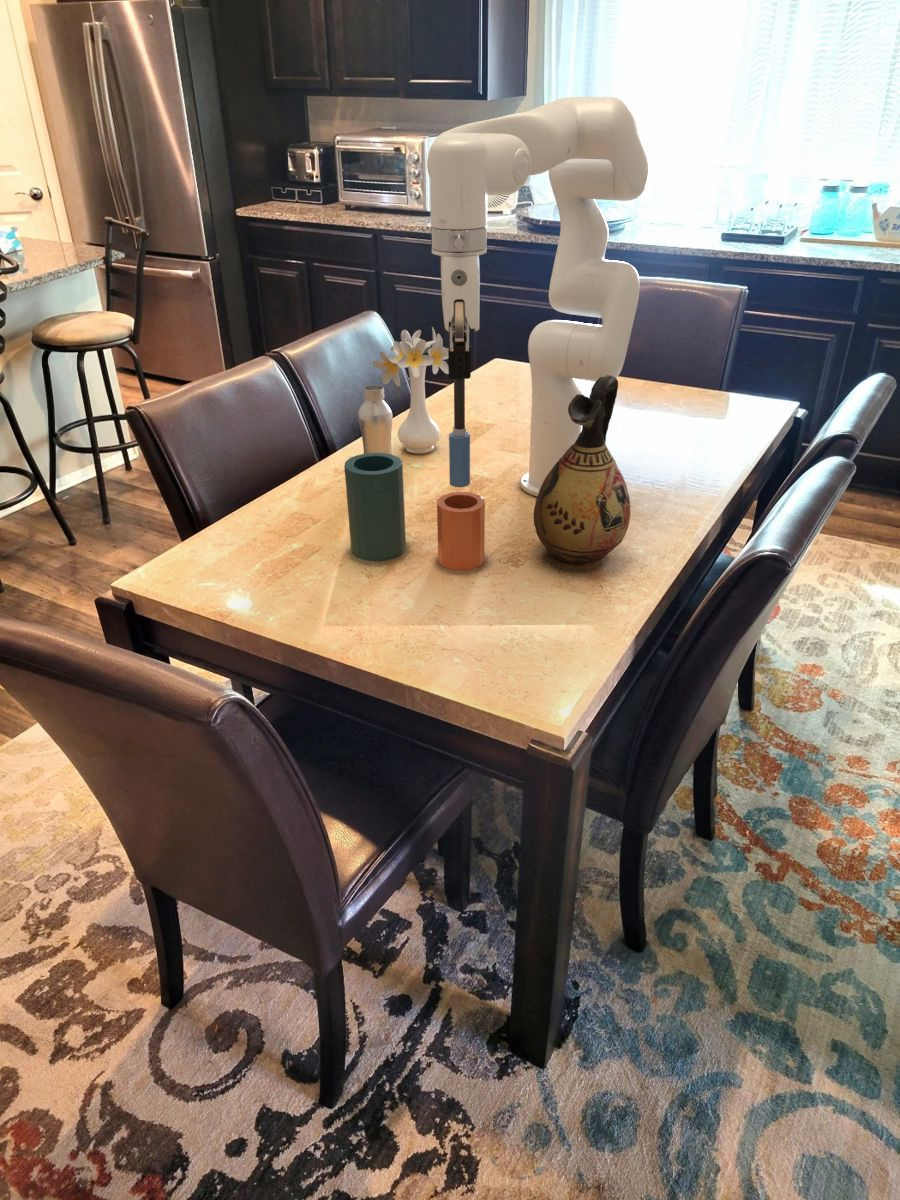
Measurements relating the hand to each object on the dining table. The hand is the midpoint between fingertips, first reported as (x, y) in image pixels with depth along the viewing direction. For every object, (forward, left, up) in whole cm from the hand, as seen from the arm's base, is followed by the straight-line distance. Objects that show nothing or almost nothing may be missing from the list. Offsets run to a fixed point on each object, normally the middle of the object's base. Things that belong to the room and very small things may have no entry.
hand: (459, 375), depth 125 cm
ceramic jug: (-20, -2, -32) cm, 37 cm away
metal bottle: (+16, -31, -32) cm, 47 cm away
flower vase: (+9, -51, -32) cm, 61 cm away
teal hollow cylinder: (+14, -4, -31) cm, 35 cm away
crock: (0, 0, -31) cm, 31 cm away
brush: (0, 0, -17) cm, 17 cm away
